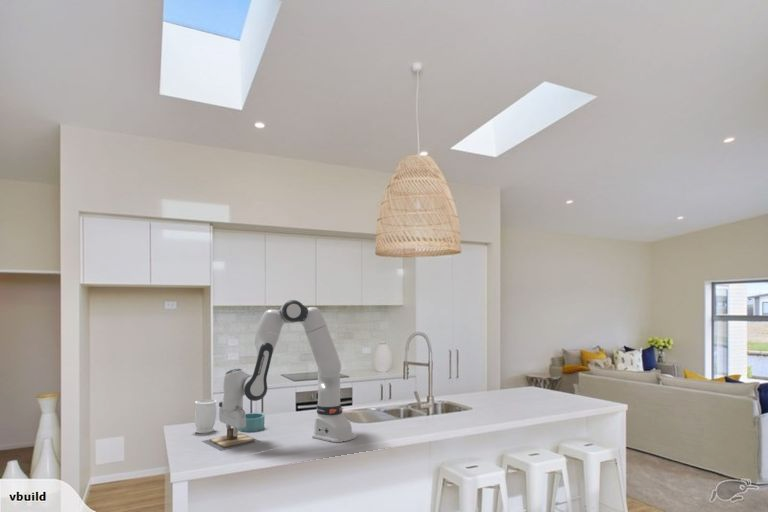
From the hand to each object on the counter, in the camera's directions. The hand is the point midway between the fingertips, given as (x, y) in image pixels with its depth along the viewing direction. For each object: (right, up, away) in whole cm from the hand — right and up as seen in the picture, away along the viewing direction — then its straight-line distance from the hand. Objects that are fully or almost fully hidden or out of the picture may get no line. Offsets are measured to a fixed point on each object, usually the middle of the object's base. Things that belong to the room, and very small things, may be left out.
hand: (232, 435), depth 224 cm
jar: (-20, -5, +18) cm, 27 cm away
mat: (0, -3, 0) cm, 3 cm away
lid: (0, -3, 0) cm, 3 cm away
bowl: (+2, -6, +23) cm, 24 cm away
